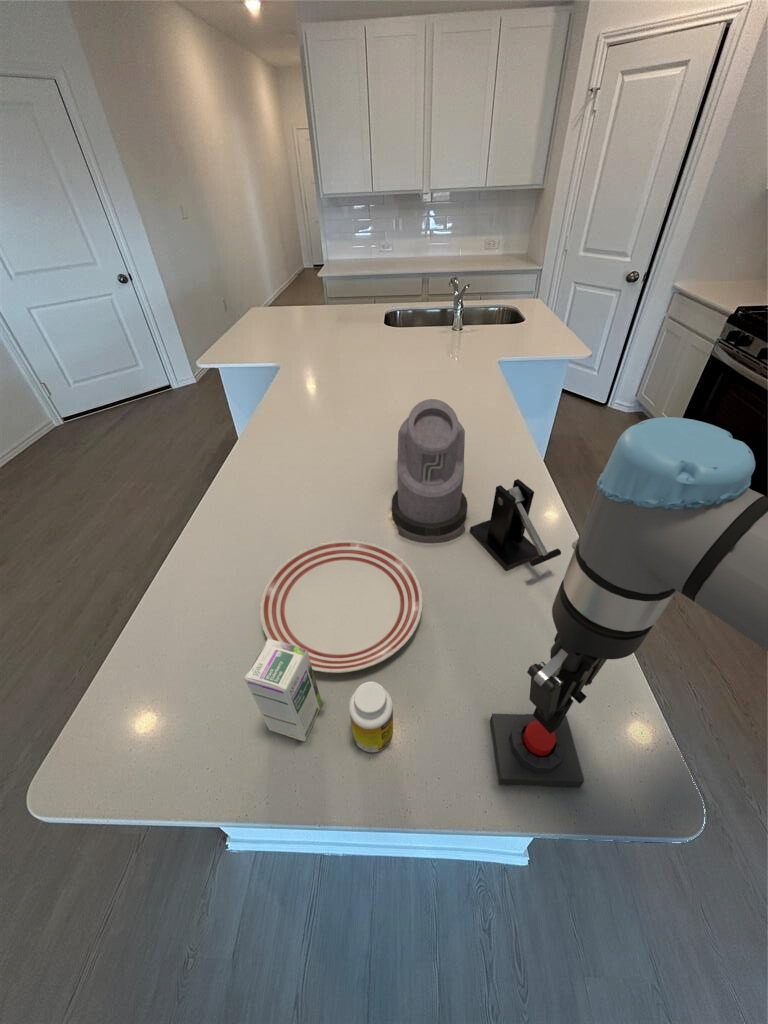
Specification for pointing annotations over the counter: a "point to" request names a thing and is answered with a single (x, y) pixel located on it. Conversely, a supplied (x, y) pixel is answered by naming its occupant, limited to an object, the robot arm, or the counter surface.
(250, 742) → the counter surface
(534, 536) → the lever
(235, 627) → the counter surface
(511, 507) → the bracket
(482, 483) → the counter surface
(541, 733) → the button
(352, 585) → the dinner plate
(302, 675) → the syrup box
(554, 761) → the button block
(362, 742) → the supplement bottle
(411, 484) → the grey piece
